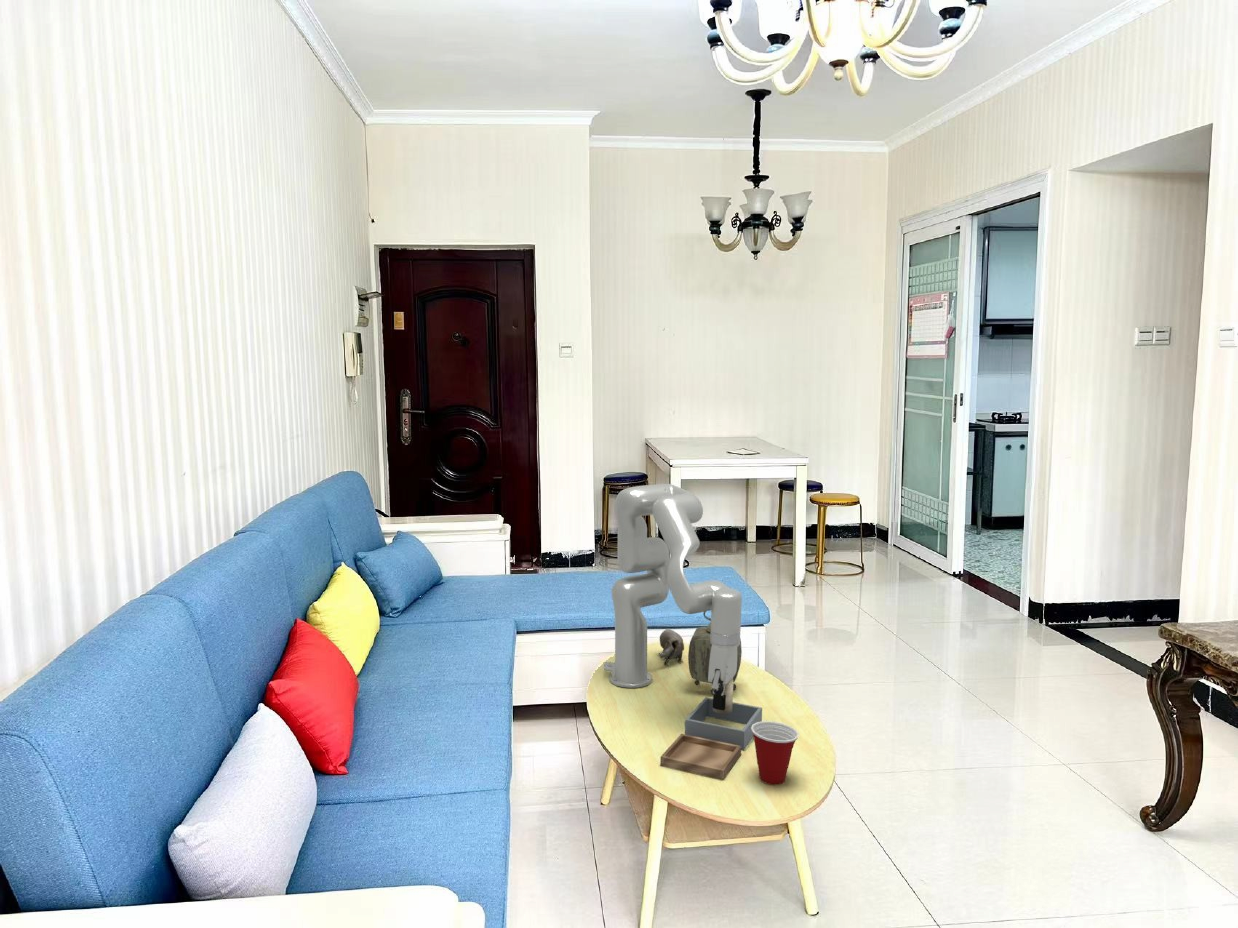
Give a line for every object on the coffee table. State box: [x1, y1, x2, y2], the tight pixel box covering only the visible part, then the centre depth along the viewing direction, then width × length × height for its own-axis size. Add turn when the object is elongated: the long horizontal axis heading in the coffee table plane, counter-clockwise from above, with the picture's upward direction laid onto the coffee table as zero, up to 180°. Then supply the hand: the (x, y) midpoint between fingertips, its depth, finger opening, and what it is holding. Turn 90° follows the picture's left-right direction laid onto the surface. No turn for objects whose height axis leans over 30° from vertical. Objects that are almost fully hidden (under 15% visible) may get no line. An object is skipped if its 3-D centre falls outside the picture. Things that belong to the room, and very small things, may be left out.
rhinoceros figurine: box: [658, 628, 685, 667], centre depth 270 cm, size 8×14×15 cm
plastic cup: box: [751, 720, 800, 786], centre depth 196 cm, size 11×11×12 cm
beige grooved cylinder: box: [713, 679, 734, 714], centre depth 220 cm, size 5×5×8 cm
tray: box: [659, 733, 742, 781], centre depth 205 cm, size 16×14×2 cm
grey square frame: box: [684, 697, 763, 752], centre depth 220 cm, size 16×16×5 cm
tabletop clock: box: [687, 611, 742, 695], centre depth 245 cm, size 14×9×25 cm, turn 76°
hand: (722, 704), depth 220 cm, fingers closed on beige grooved cylinder, 5 cm apart
